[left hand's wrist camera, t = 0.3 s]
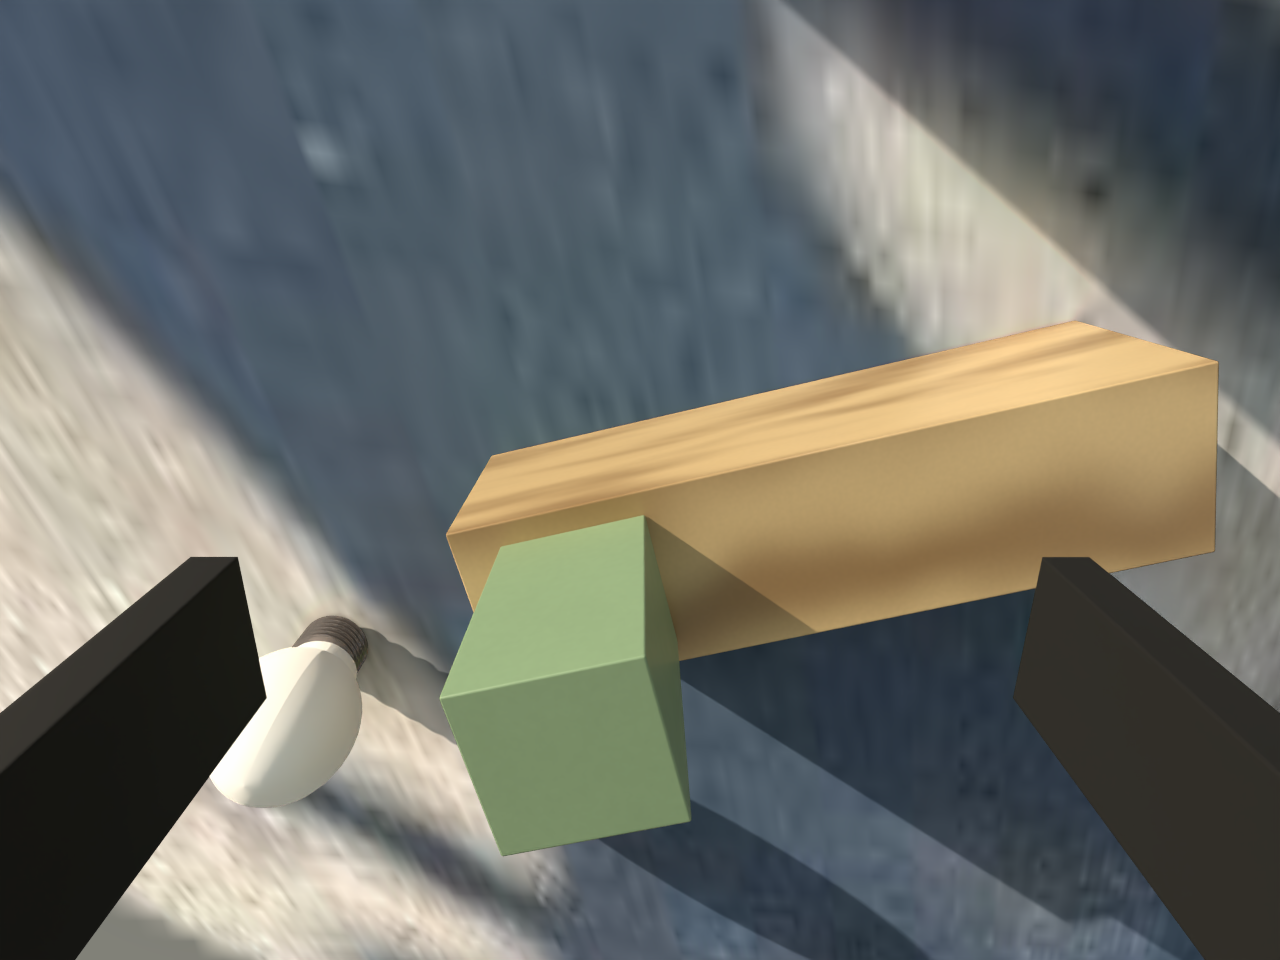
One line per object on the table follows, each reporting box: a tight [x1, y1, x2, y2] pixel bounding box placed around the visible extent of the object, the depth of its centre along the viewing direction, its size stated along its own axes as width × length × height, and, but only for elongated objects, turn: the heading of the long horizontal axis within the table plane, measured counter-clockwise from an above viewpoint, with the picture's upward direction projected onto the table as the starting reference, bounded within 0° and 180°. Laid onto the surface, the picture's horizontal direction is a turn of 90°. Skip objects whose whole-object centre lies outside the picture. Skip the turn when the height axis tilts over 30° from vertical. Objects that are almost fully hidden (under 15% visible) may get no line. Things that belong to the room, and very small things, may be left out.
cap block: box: [440, 515, 691, 856], centre depth 27 cm, size 6×6×10 cm
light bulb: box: [209, 616, 368, 808], centre depth 39 cm, size 7×7×11 cm
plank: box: [446, 321, 1219, 661], centre depth 35 cm, size 8×30×10 cm, turn 104°
